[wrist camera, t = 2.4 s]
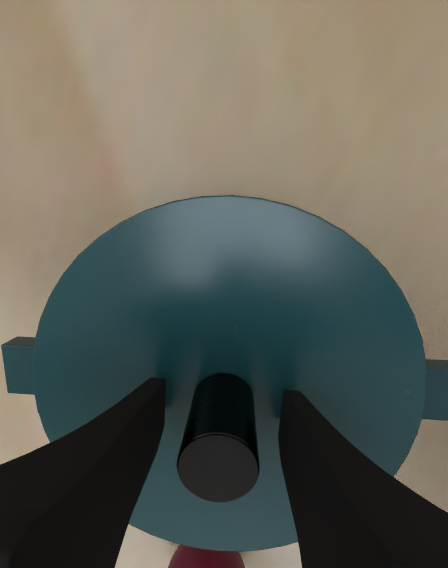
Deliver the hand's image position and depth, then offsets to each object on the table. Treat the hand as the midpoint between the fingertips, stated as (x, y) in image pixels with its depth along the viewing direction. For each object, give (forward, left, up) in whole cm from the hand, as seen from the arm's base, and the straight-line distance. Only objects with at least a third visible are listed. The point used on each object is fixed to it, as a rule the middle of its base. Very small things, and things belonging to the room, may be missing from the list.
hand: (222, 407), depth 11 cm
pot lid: (0, 0, -1) cm, 1 cm away
